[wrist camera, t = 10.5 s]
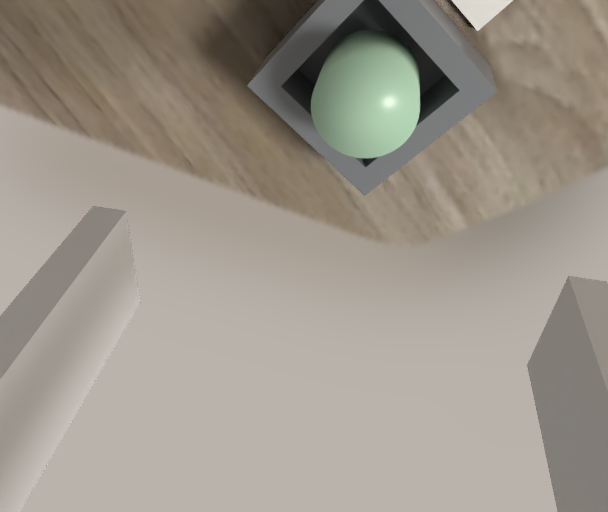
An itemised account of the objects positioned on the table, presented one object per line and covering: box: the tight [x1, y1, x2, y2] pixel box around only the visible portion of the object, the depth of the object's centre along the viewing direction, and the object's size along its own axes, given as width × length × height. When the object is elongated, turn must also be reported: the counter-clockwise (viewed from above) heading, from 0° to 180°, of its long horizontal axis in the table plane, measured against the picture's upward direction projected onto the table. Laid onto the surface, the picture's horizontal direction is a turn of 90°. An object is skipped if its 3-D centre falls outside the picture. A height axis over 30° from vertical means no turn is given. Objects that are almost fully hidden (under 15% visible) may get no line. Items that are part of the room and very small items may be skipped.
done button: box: [311, 29, 420, 158], centre depth 22 cm, size 4×4×3 cm
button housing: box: [247, 0, 497, 196], centre depth 24 cm, size 7×7×3 cm
